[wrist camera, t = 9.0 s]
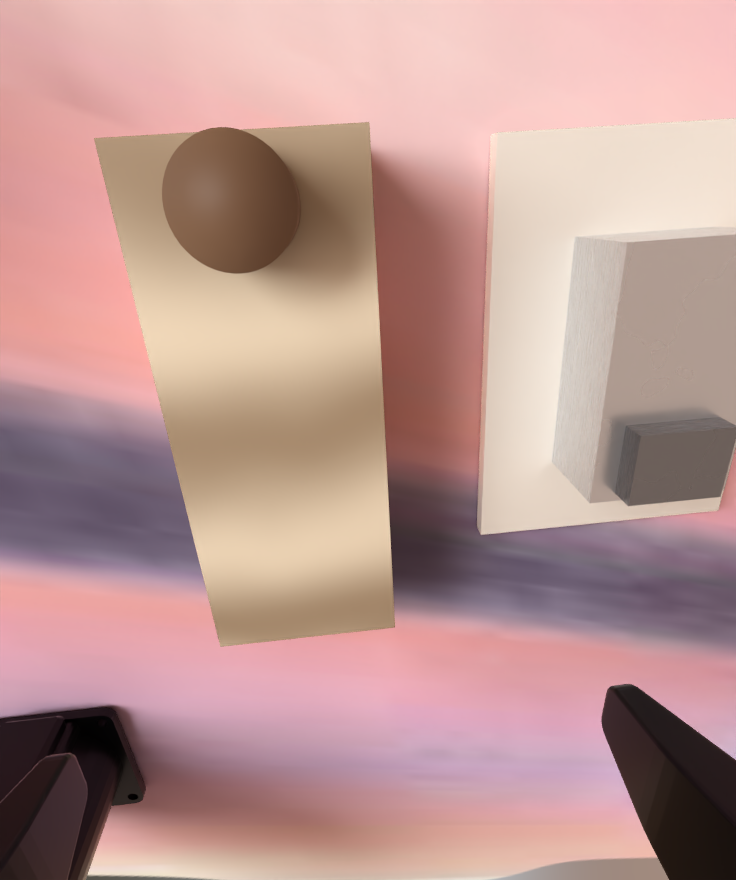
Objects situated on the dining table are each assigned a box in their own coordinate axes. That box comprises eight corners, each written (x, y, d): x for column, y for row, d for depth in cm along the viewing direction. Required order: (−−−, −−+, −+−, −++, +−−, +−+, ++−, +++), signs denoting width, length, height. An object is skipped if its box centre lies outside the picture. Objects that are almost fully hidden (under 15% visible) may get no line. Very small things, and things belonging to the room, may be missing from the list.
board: (708, 502, 21) (718, 510, 21) (476, 526, 21) (480, 534, 20) (808, 116, 16) (825, 112, 15) (490, 135, 15) (496, 132, 15)
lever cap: (667, 450, 20) (742, 502, 16) (551, 462, 19) (602, 516, 16) (714, 226, 16) (821, 231, 13) (575, 236, 16) (645, 244, 12)
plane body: (382, 555, 21) (403, 675, 16) (237, 570, 21) (208, 698, 15) (357, 143, 15) (378, 106, 9) (150, 156, 15) (48, 124, 9)
